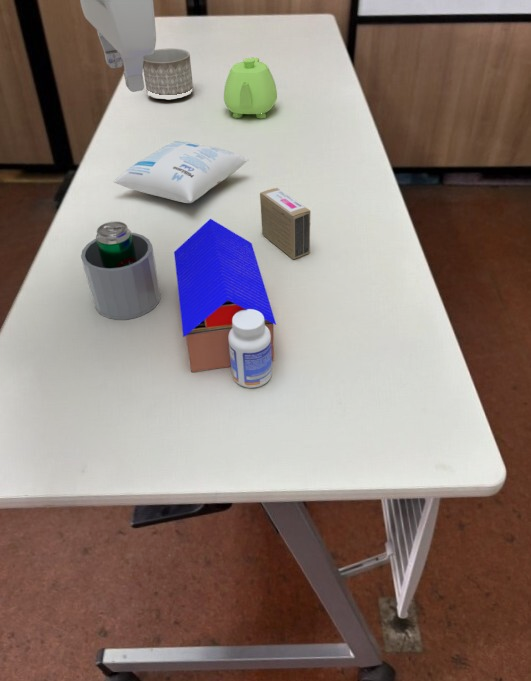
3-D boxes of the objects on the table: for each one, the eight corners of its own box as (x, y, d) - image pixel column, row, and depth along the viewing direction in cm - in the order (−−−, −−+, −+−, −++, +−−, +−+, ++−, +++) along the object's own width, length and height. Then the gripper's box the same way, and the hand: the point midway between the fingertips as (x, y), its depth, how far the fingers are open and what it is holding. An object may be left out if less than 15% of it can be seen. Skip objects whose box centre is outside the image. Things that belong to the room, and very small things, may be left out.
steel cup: (103, 327, 85) (89, 277, 79) (88, 290, 92) (74, 242, 86) (169, 308, 88) (160, 259, 82) (150, 273, 95) (141, 226, 89)
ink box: (310, 254, 98) (312, 210, 92) (292, 261, 96) (292, 216, 91) (278, 228, 104) (277, 185, 99) (260, 234, 103) (259, 191, 97)
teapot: (271, 127, 139) (271, 73, 131) (217, 126, 141) (213, 72, 132) (281, 98, 154) (281, 48, 145) (232, 97, 155) (229, 47, 147)
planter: (198, 88, 161) (194, 48, 154) (187, 104, 152) (183, 63, 145) (154, 87, 163) (149, 48, 156) (141, 103, 153) (135, 62, 147)
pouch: (173, 125, 122) (108, 157, 109) (249, 145, 114) (189, 182, 101) (176, 160, 127) (114, 195, 114) (249, 182, 120) (192, 222, 107)
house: (189, 374, 77) (178, 306, 69) (179, 287, 92) (169, 222, 84) (276, 361, 78) (276, 294, 71) (253, 278, 93) (250, 214, 85)
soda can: (113, 287, 91) (96, 220, 83) (145, 285, 91) (131, 218, 83) (109, 307, 87) (91, 239, 79) (142, 304, 87) (128, 237, 79)
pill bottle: (278, 368, 77) (278, 312, 71) (260, 394, 74) (258, 337, 67) (243, 356, 79) (240, 300, 73) (224, 381, 76) (218, 324, 69)
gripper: (51, -71, 65) (80, 58, 75) (89, -45, 52) (120, 109, 61) (105, -76, 67) (127, 51, 77) (157, -52, 53) (176, 99, 63)
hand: (125, 77), depth 69 cm, fingers open, 8 cm apart
